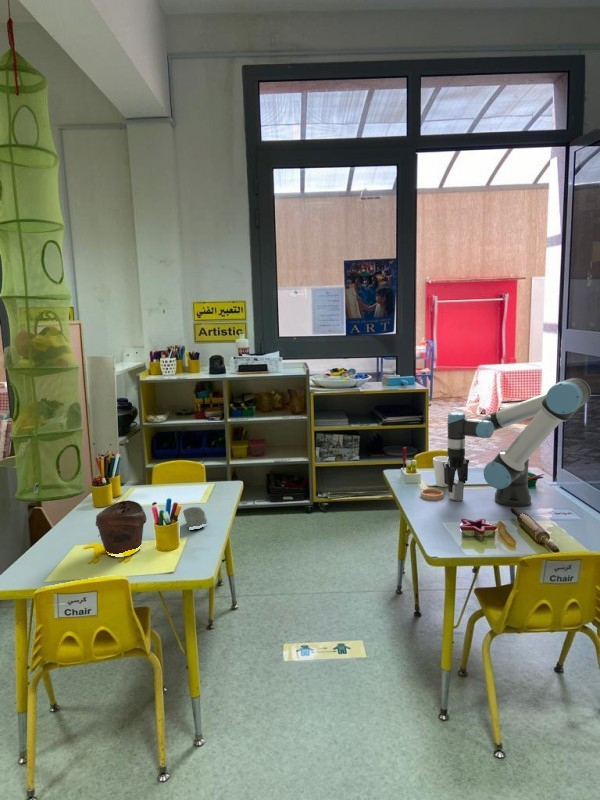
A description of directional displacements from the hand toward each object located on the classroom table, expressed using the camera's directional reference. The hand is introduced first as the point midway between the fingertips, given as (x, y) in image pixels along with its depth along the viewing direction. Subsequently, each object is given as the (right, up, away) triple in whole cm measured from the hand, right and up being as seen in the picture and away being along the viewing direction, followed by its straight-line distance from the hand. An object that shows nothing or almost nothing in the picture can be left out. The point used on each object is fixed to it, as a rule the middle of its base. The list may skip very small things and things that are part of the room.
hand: (456, 497), depth 250 cm
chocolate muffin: (-136, -13, -41) cm, 143 cm away
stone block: (0, 0, 0) cm, 0 cm away
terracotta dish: (-10, 0, +5) cm, 11 cm away
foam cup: (-1, +3, +21) cm, 21 cm away
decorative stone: (-113, -8, -21) cm, 115 cm away
